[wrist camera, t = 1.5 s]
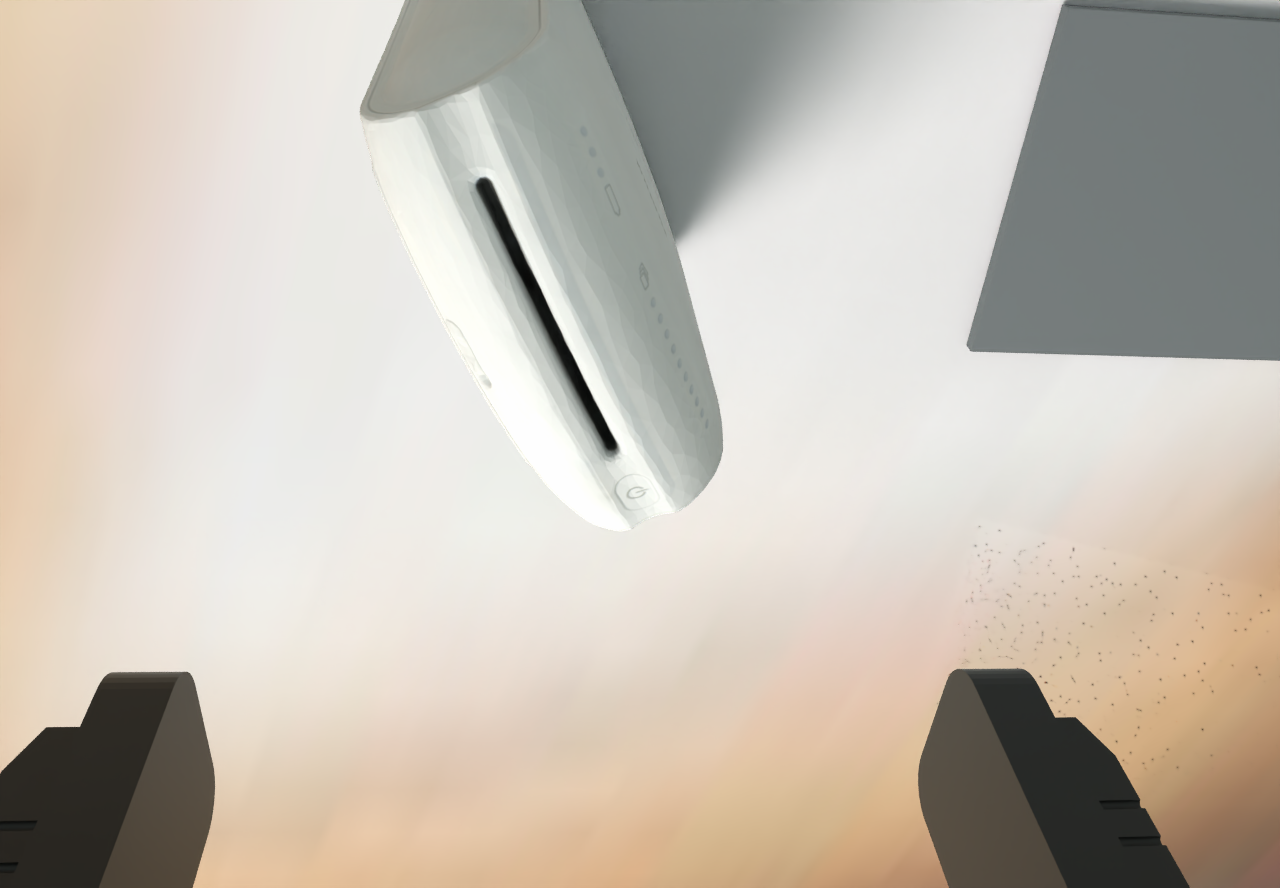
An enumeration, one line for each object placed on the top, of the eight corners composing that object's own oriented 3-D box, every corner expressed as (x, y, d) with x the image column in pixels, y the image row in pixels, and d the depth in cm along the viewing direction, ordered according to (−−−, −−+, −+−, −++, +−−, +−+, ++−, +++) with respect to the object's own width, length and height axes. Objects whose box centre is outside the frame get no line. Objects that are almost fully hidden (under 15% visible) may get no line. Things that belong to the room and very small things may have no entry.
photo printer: (692, 266, 31) (770, 534, 20) (556, 319, 31) (566, 604, 21) (550, -102, 25) (558, 14, 15) (388, -30, 26) (288, 129, 15)
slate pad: (1482, 33, 29) (1493, 36, 28) (1322, 355, 34) (1330, 361, 34) (1062, 4, 27) (1069, 7, 27) (966, 345, 33) (971, 351, 33)
